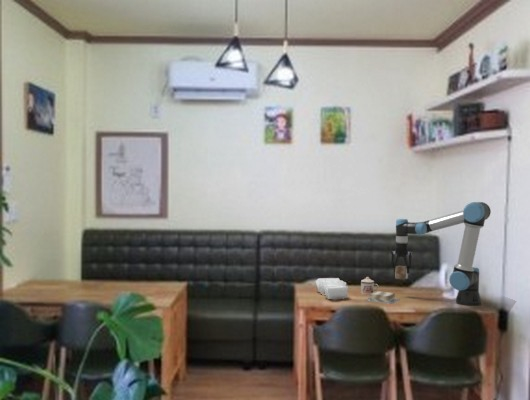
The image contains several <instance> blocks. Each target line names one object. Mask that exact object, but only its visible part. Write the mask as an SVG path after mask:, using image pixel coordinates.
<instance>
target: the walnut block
mask: <svg viewBox="0 0 530 400" xmlns="http://www.w3.org/2000/svg"><path fill="white" fill-rule="evenodd" d="M406 268H407V267H406V265H400V264H397V266H396V278H395V280H407V279H406Z"/></svg>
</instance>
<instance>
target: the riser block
mask: <svg viewBox="0 0 530 400" xmlns="http://www.w3.org/2000/svg"><path fill="white" fill-rule="evenodd" d="M395 297H396V296H395V292H387V291H378V290H377V291H374V293H372V294H370V295H369V298H370V300H371V301H370V302H373V301H379V302H378V303H381V302H387V303H386V304H389V302H391V301H392V300H394V299H396V298H395Z"/></svg>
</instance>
